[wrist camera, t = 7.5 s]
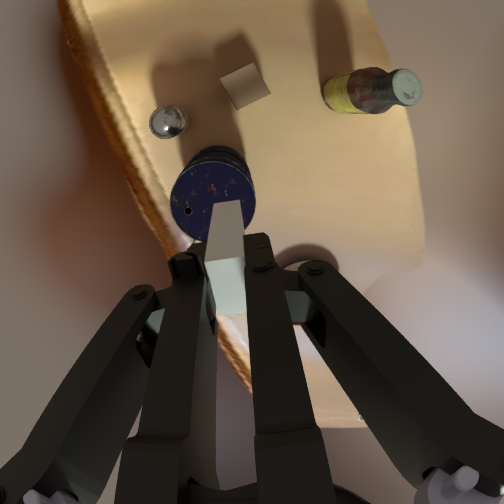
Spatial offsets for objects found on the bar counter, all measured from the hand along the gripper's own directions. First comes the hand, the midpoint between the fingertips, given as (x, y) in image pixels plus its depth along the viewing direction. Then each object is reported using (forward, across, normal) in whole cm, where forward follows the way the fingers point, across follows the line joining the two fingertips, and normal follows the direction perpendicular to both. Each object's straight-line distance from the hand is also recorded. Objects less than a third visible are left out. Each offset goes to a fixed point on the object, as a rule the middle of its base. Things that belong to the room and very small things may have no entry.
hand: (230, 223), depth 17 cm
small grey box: (+30, +3, +9) cm, 32 cm away
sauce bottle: (+31, +18, +7) cm, 36 cm away
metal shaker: (+30, -8, +6) cm, 32 cm away
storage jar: (+30, -3, -4) cm, 31 cm away
